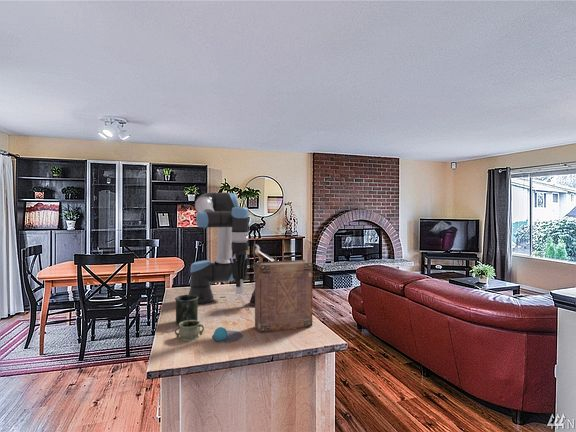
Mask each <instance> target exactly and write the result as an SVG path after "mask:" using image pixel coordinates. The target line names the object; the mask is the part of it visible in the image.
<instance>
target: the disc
mask: <svg viewBox="0 0 576 432" xmlns="http://www.w3.org/2000/svg"><path fill="white" fill-rule="evenodd" d="M226 331H227V337H226V339H225V340H223V341H217V340H216V339H215V338H214V334H212V336H211V338H212V340H213V341H216V342H220V343H232V342H236V341H239V340H242V338H243V337H244V335H243V332H241V331H239V330H226Z"/></svg>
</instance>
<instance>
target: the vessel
mask: <svg viewBox="0 0 576 432" xmlns="http://www.w3.org/2000/svg"><path fill="white" fill-rule="evenodd" d="M200 327H201V328H202V330H201V329H200ZM177 330H179V331H178V332H177ZM204 331H205V326H204V325H203V324H202V323H201V322H200V320H186V321H183V322H181V323H179V325H177V326H175V329H174V334H175V335H176V337H175V338H178V339H179V338H180V340H181V341H184V342H192V341H196V340H198V339H199V338H200V336H202V335H203V332H204Z"/></svg>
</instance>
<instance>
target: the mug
mask: <svg viewBox="0 0 576 432" xmlns="http://www.w3.org/2000/svg"><path fill="white" fill-rule="evenodd" d="M198 298H199V297H198V296H197V295H188V294H182V295H178V296H176V297H175V298H174V300H175V323H176V325H177V326H179V323H181V322H183V321H186V320H197V321H199V320H198V317H199V316H198V315H199V313H198V308H199V307H198V306H199V304H198Z"/></svg>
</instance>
